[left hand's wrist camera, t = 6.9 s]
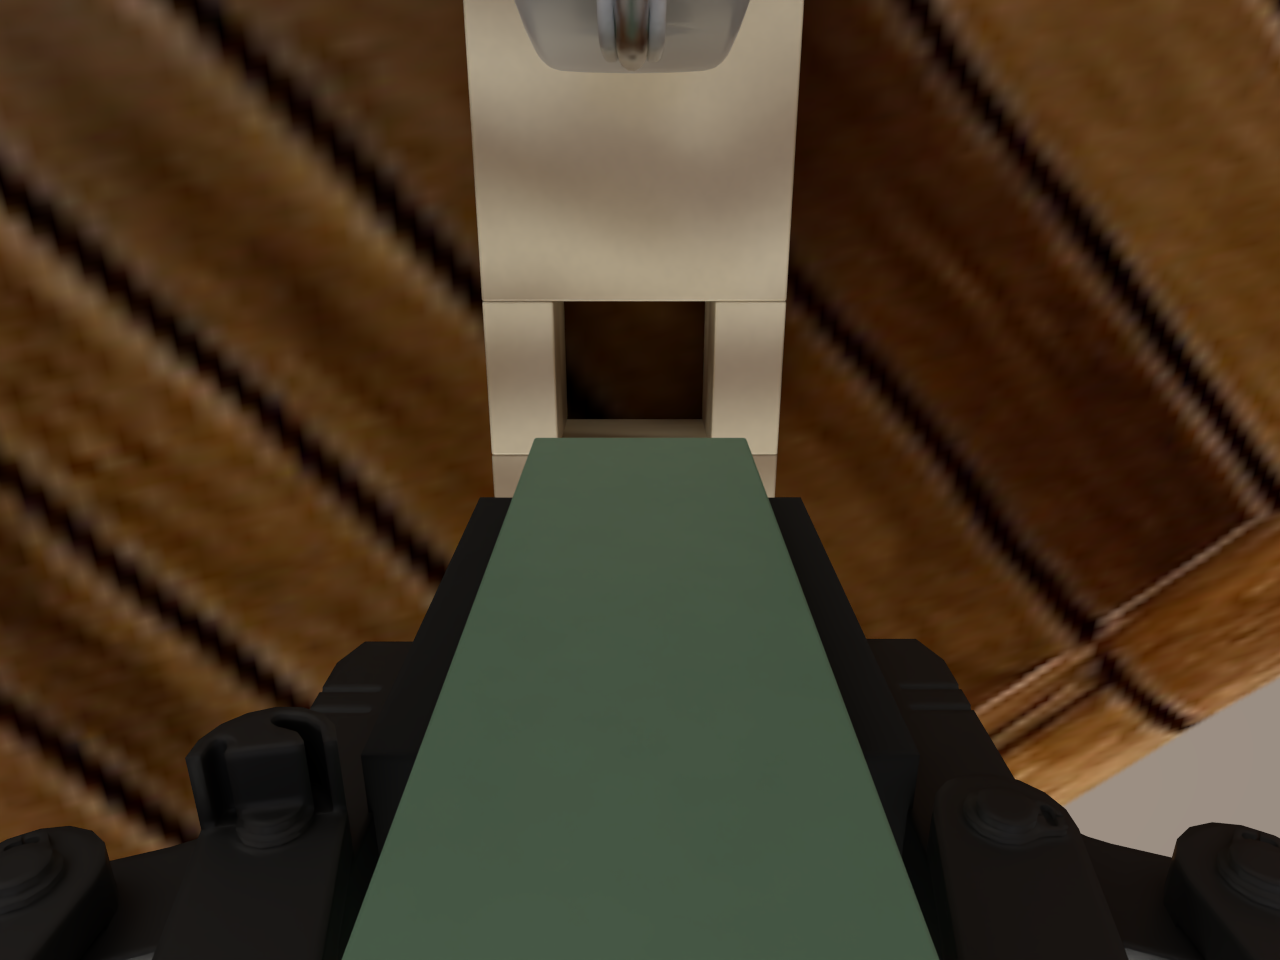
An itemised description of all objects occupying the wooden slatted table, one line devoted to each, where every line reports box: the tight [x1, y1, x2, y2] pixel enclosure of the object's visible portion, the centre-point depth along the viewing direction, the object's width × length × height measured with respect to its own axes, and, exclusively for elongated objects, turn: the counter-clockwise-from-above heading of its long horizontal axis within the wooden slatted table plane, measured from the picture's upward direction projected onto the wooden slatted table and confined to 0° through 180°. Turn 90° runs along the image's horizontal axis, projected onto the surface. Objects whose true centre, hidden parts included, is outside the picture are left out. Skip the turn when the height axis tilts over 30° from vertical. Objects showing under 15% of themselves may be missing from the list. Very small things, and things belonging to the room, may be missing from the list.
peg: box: [342, 438, 939, 960], centre depth 11 cm, size 4×4×12 cm
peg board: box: [463, 0, 804, 497], centre depth 23 cm, size 26×9×10 cm, turn 0°
